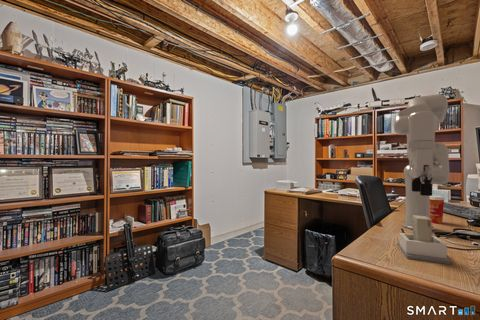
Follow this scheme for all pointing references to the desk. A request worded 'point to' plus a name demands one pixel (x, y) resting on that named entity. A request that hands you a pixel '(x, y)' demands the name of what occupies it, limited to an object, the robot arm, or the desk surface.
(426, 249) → the shallow white tray
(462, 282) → the desk surface
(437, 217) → the paper cup
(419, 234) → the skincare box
